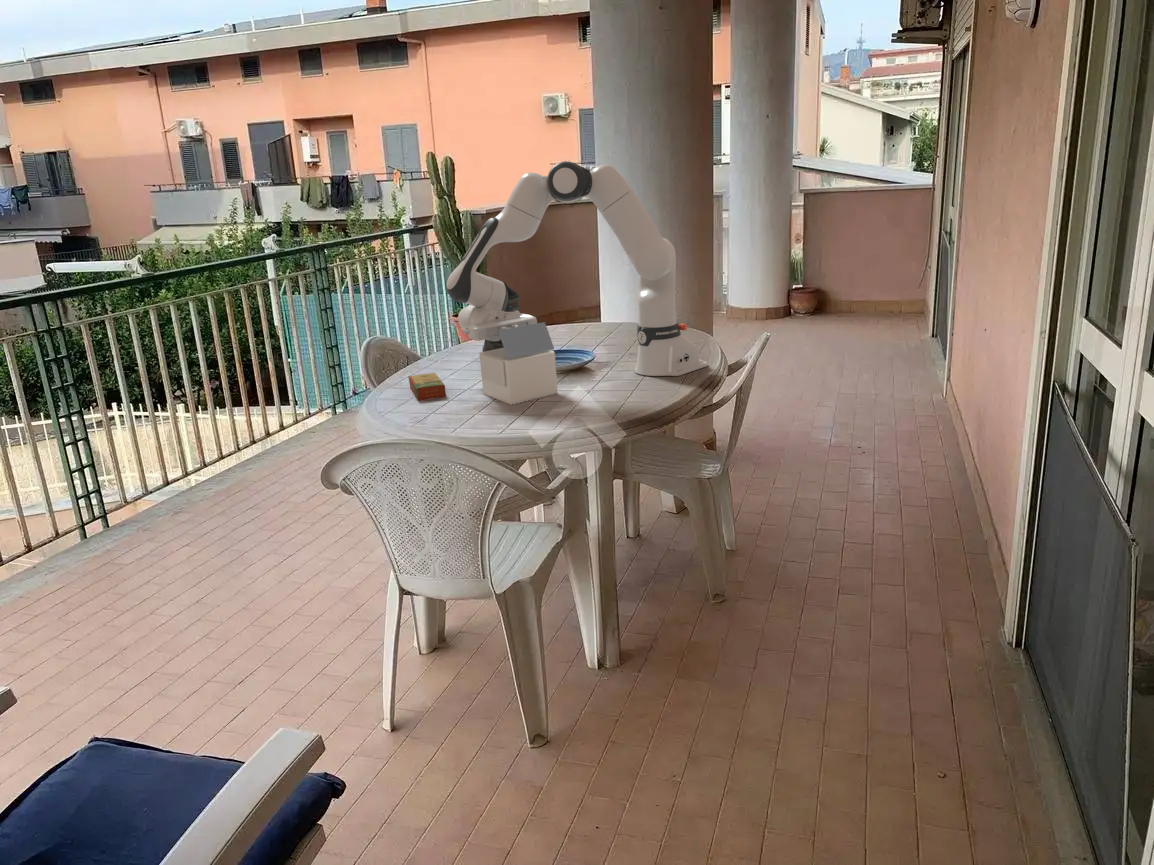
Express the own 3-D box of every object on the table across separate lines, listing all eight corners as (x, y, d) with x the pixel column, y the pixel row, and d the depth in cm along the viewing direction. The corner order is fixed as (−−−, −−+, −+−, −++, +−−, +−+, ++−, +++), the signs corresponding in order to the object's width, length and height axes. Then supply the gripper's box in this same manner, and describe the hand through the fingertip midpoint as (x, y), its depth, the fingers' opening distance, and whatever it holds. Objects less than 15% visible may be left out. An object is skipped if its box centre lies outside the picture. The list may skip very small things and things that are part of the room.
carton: (437, 385, 249) (435, 371, 248) (447, 398, 235) (445, 383, 233) (409, 389, 247) (407, 375, 245) (417, 402, 232) (416, 387, 231)
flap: (544, 322, 227) (544, 322, 227) (553, 349, 226) (554, 348, 226) (498, 330, 220) (498, 330, 219) (507, 358, 219) (508, 357, 218)
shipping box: (529, 383, 244) (526, 343, 240) (559, 393, 230) (556, 351, 227) (480, 393, 235) (476, 352, 232) (508, 405, 222) (504, 361, 218)
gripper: (458, 320, 231) (481, 325, 220) (521, 309, 242) (546, 314, 231) (461, 342, 233) (483, 349, 222) (523, 330, 244) (548, 336, 233)
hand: (516, 331), depth 227 cm, fingers closed
